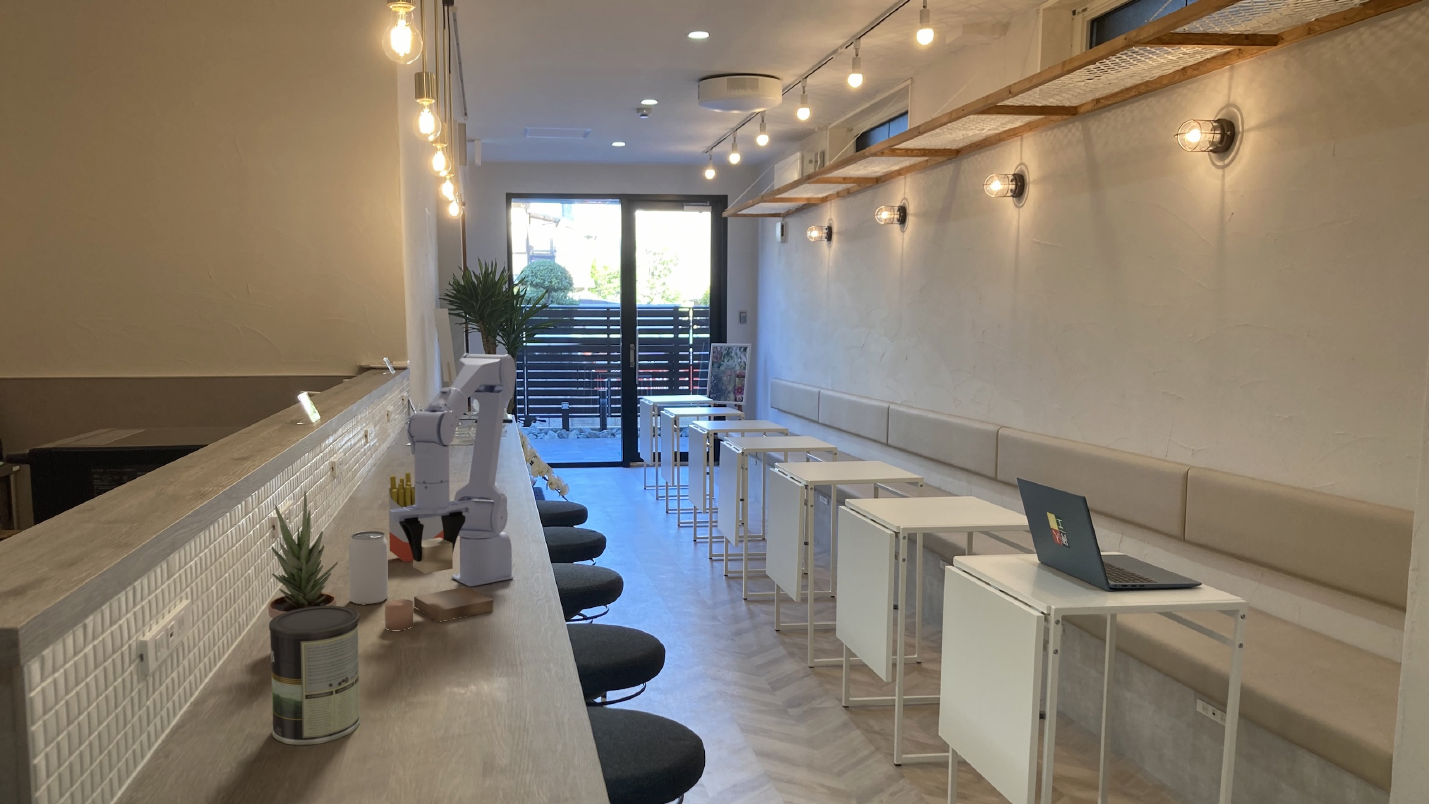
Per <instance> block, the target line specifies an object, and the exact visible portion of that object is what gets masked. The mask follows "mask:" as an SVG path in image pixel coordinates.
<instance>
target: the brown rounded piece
mask: <svg viewBox="0 0 1429 804" xmlns="http://www.w3.org/2000/svg"><path fill="white" fill-rule="evenodd" d="M384 619H385V620H384V621H385V622H384V625H385V626H384V627H385V628H387V629H389V630H404V629H408V628H410V627H412V626H413V627H414V600H413V601H412V600H409V599H403V598H401V599H394V600H393V599H392V600H390V601H387V602H385V604H384ZM413 627H412V628H413ZM408 630H409V629H408ZM404 631H405V630H404Z"/></svg>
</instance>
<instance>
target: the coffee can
mask: <svg viewBox="0 0 1429 804" xmlns="http://www.w3.org/2000/svg"><path fill="white" fill-rule="evenodd" d="M359 621H360V614H359V612H358V611H357V610H355V609H353V608H350V607H346V606H340V605H339V606H338V605H336V606H315V607H306V608H301V609H296V610H292V611H288V612H285V613H283V614H280V615H278V616H276V617H275V618H273V619H272V618H271V620H270V621H269V624H268V629H269V633H270V637H269V639H270V667H271V669H270V670H271V672H270V673H271V699H272V701H271V702H272V707H271V709H272V712H271V713H272V730H271V731H272V733H271V734H272V736H273V738H274V739H275V740H276V741H278V742H280V743H283V744H286V745H290V746H291V745H292V746H313V745H320V744H324V743H329V742H332V741H335V740H339V739H341V738H344V737H345V736H347V735H349V734H351V733H352V732H354V731H355V730H356V729H357V728H358V727H359V726H360V724H361V723H360V722H361V717H360V683H359V682H360V680H359V679H360V677H359V676H360V673H359V672H360V671H359V670H360V669H359V666H360V665H359Z"/></svg>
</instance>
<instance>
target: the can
mask: <svg viewBox="0 0 1429 804" xmlns="http://www.w3.org/2000/svg"><path fill="white" fill-rule="evenodd" d="M350 537H351V539H350V541H349V543H348V574H349V575H348V576H349V577H348V579H349V601H350V602H351V603H352V602H353V603H352V604H354V603H356V604H355V605H357V604H372V605H374V604H373V603H377V604H380V603H379V602H381V603H383V602H385V601H386V600H387V598H388V596H389V580H388V579H389V574H388V573H389V572H388V571H389V570H388V569H389V568H388V562H389V561H388V540H387V539H386V537H385V532H383V531H377V530H369V531H368V530H367V531H359V532H355V533H353V534H351V535H350ZM385 599H386V600H385ZM384 600H385V601H384ZM382 601H383V602H382Z"/></svg>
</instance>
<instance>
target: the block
mask: <svg viewBox="0 0 1429 804" xmlns="http://www.w3.org/2000/svg"><path fill="white" fill-rule="evenodd" d="M453 555H454V551H453V550H452V543H451V542H449V541H446V540H444V539H442V538H434V539H427V540H422V560H421V561H420V562H417V561H415V560H413V561H412V567H413V568H414V569H416V570H418V571H420V572H422V573H423V574H430V573H435V572H436V573H437V572H441V571H447V570H452V569H453V558H454V556H453Z"/></svg>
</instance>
